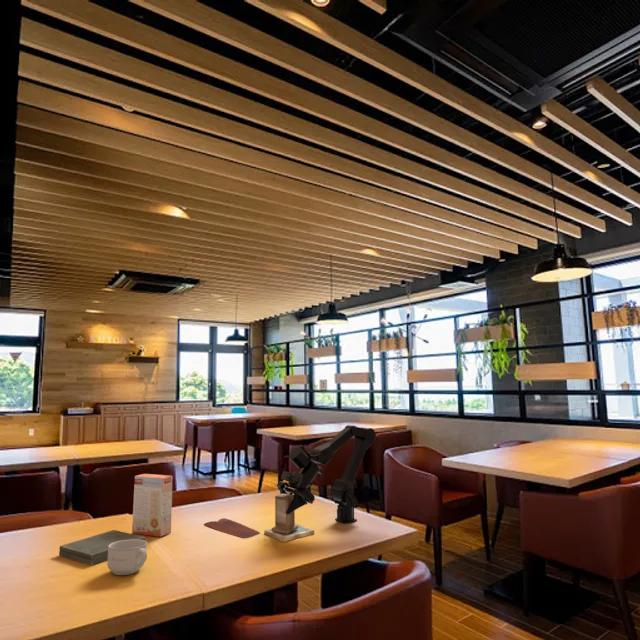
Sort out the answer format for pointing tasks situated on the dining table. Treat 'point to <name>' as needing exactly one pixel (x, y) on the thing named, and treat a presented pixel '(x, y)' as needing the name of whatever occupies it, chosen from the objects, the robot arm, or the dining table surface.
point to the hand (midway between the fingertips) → (281, 511)
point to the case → (94, 547)
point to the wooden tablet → (232, 528)
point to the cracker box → (152, 504)
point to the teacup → (126, 556)
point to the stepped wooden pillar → (284, 514)
